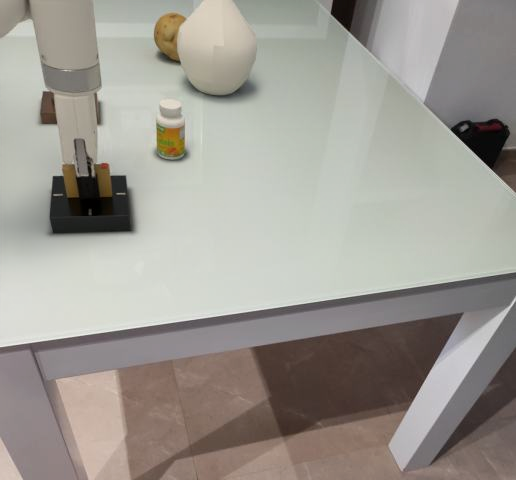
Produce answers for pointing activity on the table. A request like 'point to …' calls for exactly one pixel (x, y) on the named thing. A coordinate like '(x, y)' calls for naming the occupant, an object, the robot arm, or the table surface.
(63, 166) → the dial pointer knob
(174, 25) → the potato
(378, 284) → the table surface
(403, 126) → the table surface
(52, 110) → the brown square block
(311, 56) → the table surface
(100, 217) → the dial pointer knob base
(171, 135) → the supplement bottle
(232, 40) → the vase
